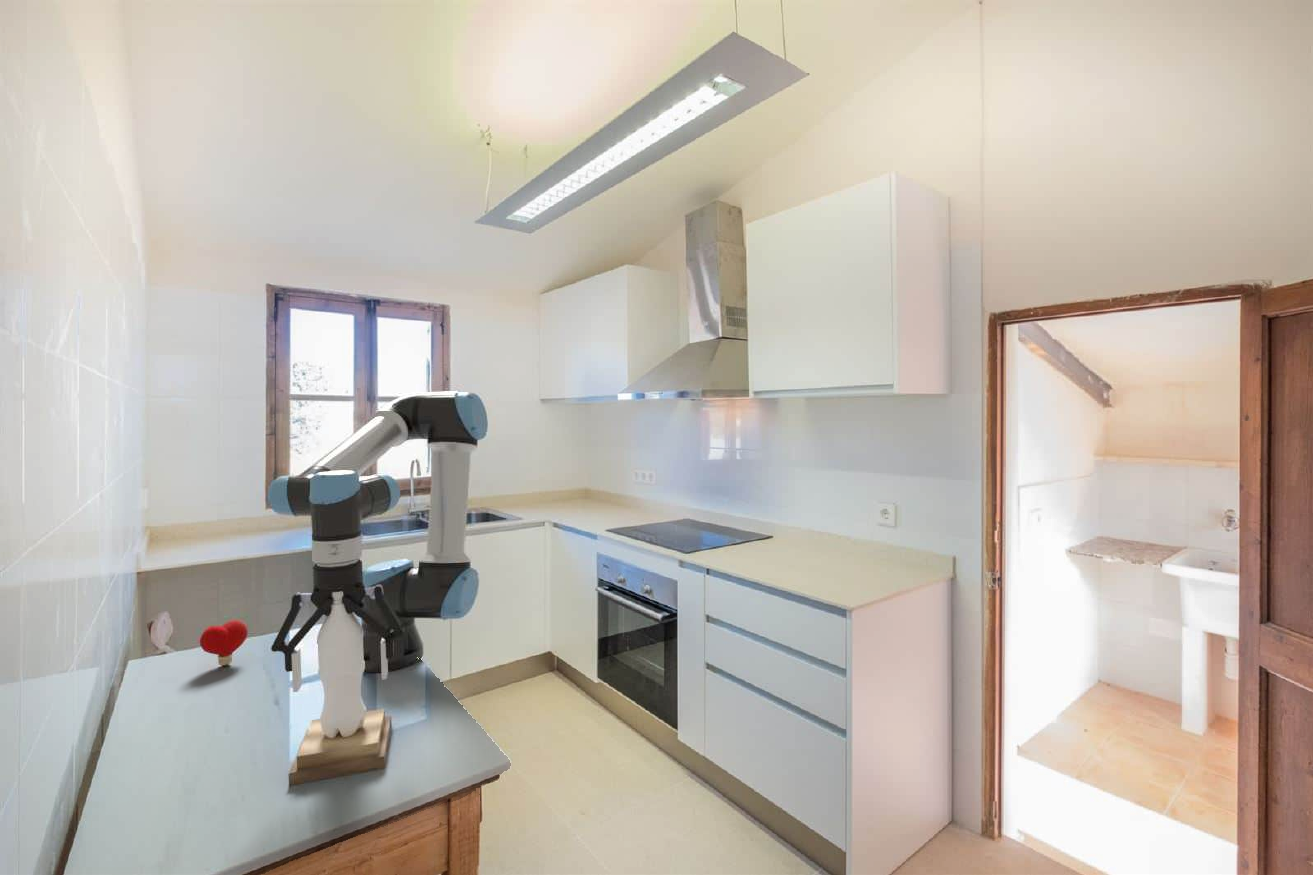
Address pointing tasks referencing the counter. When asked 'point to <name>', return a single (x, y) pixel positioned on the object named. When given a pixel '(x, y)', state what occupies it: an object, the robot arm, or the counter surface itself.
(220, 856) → the counter surface
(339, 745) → the oak slab
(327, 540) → the robot arm
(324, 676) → the water bottle
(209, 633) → the red heart on stem
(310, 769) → the walnut slab
